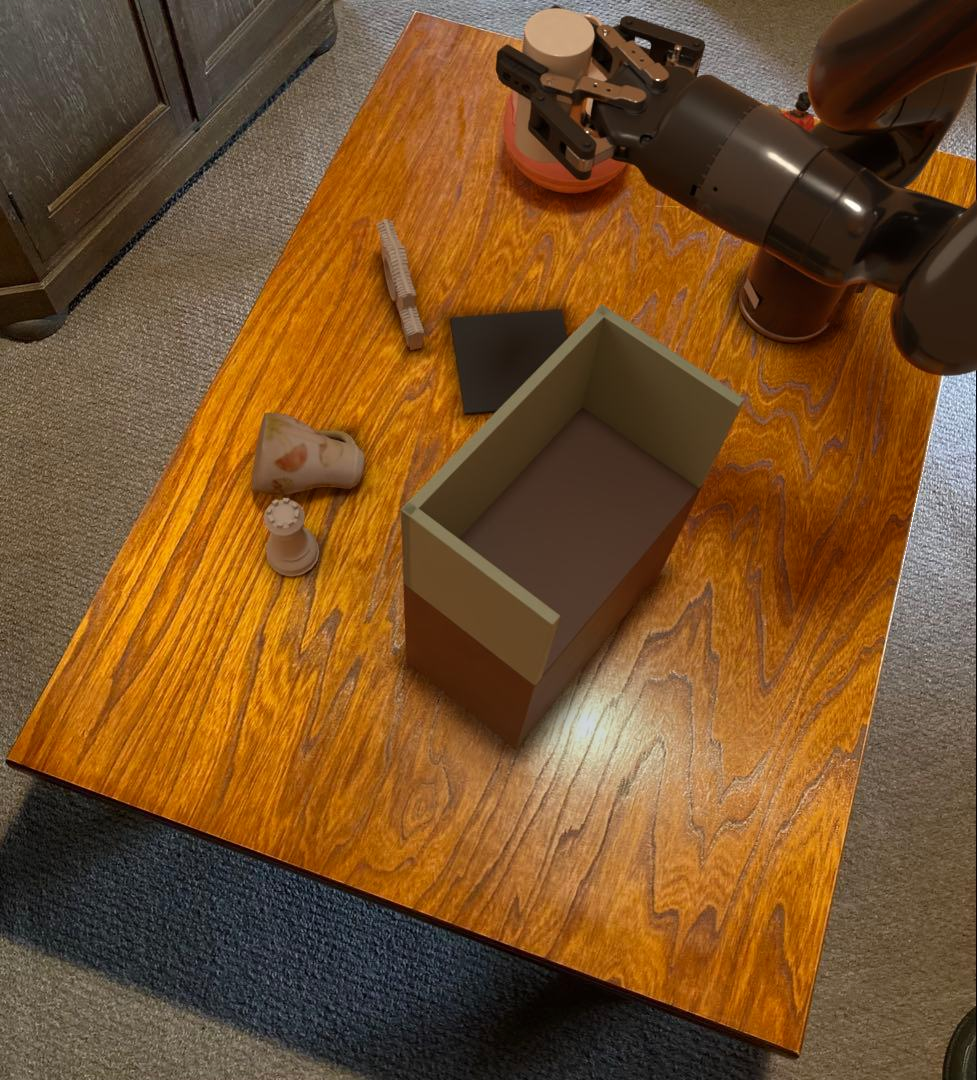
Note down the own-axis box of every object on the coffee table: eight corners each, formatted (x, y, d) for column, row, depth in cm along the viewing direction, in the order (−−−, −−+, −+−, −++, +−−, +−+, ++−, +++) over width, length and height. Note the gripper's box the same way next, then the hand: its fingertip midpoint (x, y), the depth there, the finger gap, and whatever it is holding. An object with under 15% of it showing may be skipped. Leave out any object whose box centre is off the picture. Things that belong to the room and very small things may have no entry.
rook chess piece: (327, 541, 93) (320, 497, 86) (307, 585, 91) (297, 544, 84) (280, 525, 94) (268, 479, 87) (258, 568, 92) (244, 526, 85)
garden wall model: (425, 350, 103) (425, 311, 97) (407, 353, 102) (406, 314, 97) (395, 254, 108) (393, 212, 102) (377, 257, 107) (375, 215, 102)
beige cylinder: (571, 115, 79) (587, 6, 71) (582, 161, 77) (600, 54, 69) (509, 119, 79) (519, 9, 71) (519, 165, 77) (530, 57, 69)
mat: (561, 311, 106) (561, 308, 105) (580, 405, 101) (581, 402, 101) (449, 319, 104) (450, 317, 104) (464, 415, 100) (464, 413, 99)
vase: (492, 124, 116) (504, -25, 101) (616, 119, 118) (647, -28, 102) (507, 221, 110) (522, 79, 95) (638, 215, 112) (673, 74, 96)
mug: (373, 511, 95) (309, 480, 86) (283, 513, 99) (213, 484, 90) (383, 430, 97) (320, 392, 88) (293, 436, 101) (225, 400, 92)
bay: (661, 571, 94) (745, 398, 70) (515, 749, 86) (552, 625, 62) (556, 495, 97) (601, 303, 72) (405, 661, 89) (400, 509, 65)
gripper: (812, 55, 68) (593, -64, 72) (685, 182, 62) (457, 44, 66) (777, 148, 74) (579, 33, 78) (660, 270, 69) (454, 140, 73)
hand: (524, 39), depth 72 cm, fingers closed on beige cylinder, 4 cm apart
